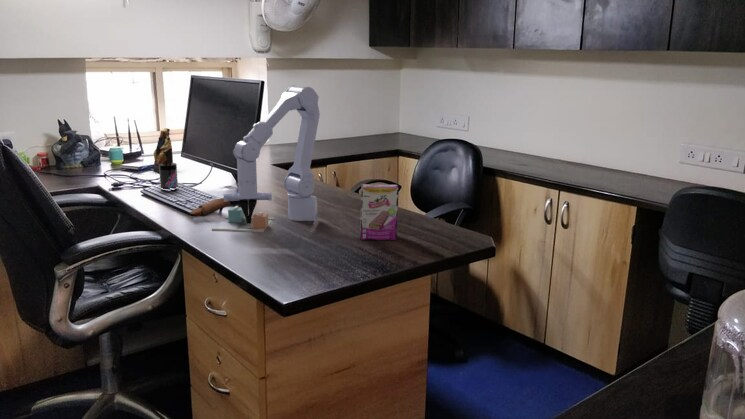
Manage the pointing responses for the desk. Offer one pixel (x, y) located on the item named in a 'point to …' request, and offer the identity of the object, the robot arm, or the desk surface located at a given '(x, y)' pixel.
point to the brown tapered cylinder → (210, 207)
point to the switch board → (242, 227)
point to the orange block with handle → (260, 220)
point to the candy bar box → (378, 212)
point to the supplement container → (168, 175)
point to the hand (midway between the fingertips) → (248, 223)
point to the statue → (163, 150)
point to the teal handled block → (235, 214)
